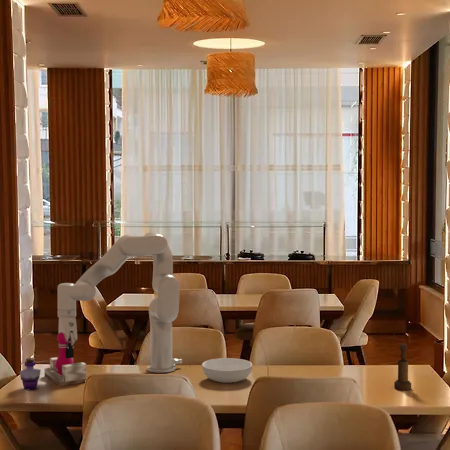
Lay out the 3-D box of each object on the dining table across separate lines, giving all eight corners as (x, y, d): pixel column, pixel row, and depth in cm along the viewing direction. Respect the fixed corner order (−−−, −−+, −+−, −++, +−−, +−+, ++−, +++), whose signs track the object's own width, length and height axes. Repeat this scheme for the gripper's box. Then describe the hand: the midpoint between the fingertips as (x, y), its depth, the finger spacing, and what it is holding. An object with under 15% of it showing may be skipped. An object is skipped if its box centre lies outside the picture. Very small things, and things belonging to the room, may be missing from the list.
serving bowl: (193, 383, 313) (193, 366, 312) (215, 371, 332) (215, 356, 331) (240, 389, 304) (240, 372, 304) (260, 377, 323) (260, 360, 323)
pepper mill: (69, 378, 315) (69, 330, 314) (52, 377, 317) (52, 329, 315) (76, 373, 322) (75, 326, 321) (59, 372, 324) (59, 325, 322)
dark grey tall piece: (413, 387, 306) (414, 342, 305) (408, 391, 300) (409, 345, 299) (397, 385, 309) (397, 341, 308) (392, 389, 304) (392, 344, 303)
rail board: (71, 372, 330) (71, 354, 330) (87, 381, 315) (87, 363, 315) (44, 376, 324) (44, 358, 323) (59, 386, 309) (59, 367, 308)
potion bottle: (24, 385, 311) (24, 355, 310) (45, 385, 309) (44, 356, 308) (15, 390, 302) (14, 360, 301) (36, 391, 301) (35, 361, 300)
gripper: (83, 315, 313) (83, 359, 314) (68, 309, 328) (68, 351, 329) (65, 317, 309) (65, 361, 310) (51, 310, 324) (51, 353, 325)
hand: (67, 356), depth 319 cm, fingers closed on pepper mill, 5 cm apart
